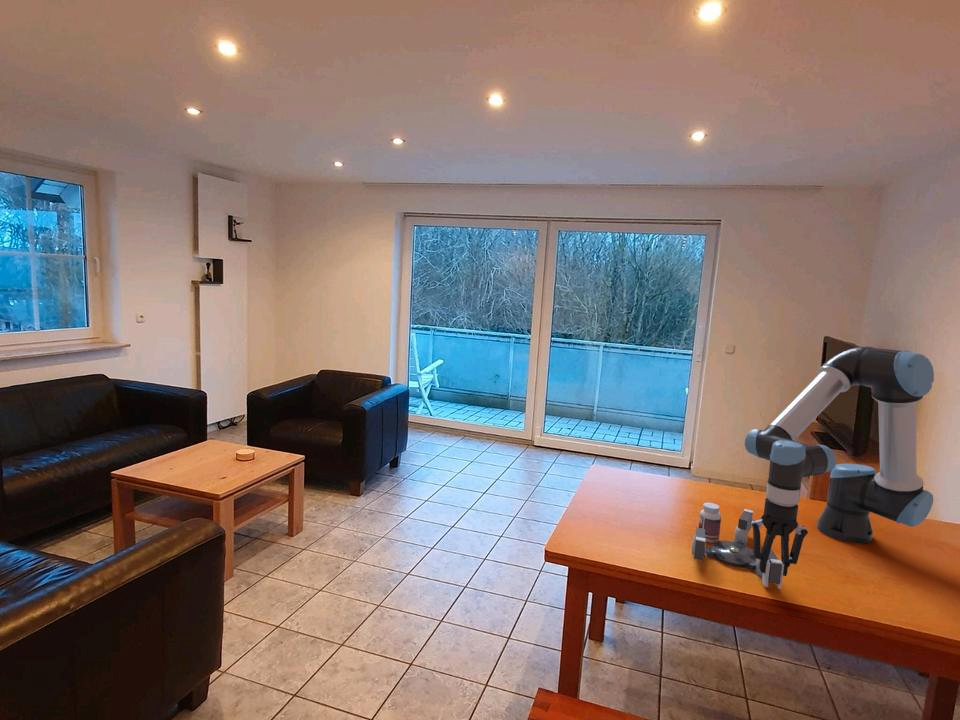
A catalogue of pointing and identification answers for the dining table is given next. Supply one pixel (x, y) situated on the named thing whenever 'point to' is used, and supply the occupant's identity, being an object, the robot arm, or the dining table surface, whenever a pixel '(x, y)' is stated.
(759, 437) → the robot arm
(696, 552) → the dark bar with dome
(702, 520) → the pill bottle
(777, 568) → the grey bar white cap
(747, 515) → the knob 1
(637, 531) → the dining table surface
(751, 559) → the base
